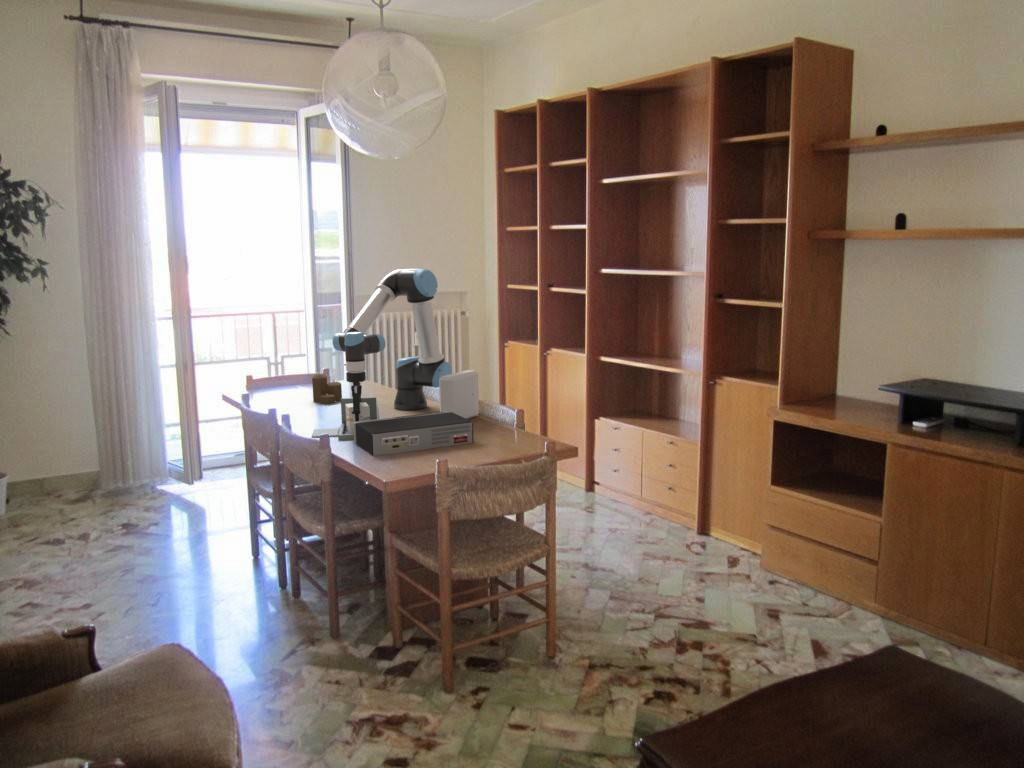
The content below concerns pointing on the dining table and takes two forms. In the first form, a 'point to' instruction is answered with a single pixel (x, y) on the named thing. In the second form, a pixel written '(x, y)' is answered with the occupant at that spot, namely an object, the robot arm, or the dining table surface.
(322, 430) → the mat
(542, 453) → the dining table surface
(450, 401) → the white upright slab
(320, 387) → the brown stepped block
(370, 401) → the grey angled piece
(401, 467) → the dining table surface
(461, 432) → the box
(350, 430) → the ink box
